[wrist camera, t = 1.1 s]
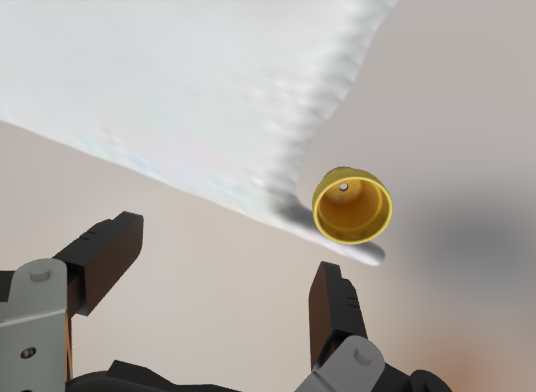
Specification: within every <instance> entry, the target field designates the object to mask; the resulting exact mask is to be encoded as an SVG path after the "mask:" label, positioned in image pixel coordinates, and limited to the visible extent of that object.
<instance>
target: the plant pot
mask: <svg viewBox="0 0 536 392" xmlns="http://www.w3.org/2000/svg"><path fill="white" fill-rule="evenodd" d="M342 183H346V184H347V188H346V189H340V188H339V186H340V185H341V184H342ZM312 210H313V217H314V221H315V224H316V226H317V228H318V229H319V230H320V232H321V233H322V234H323V235H324V236H326V237H327V238H329V239H330V240H332V241H335V242H338V243H342V244H359V243H363V242H366V241H369V240H371V239H373V238H374V237H376V236H378V235H379V234H380V233H381V232H382V231H383V230H384V229H385V228H386V226H387V225H388V223H389V221H390V219H391V216H392V211H393V204H392V199H391V196H390V194H389V192H388V191H387V189H386V188H385V187H384V185H383V184H382V183H381V182H380V181H379V180H378V179H377V178H376V177H374V176H373V175H371V174H370V173H368V172H366V171H363V170H359V169H353V168H350V167H338V168H335V169H333V170H331V171H329V173H327V174H326V175H325V177H324V179H323V180H322V181H321V182H320V184H319V185H318V187H317V188H316V190H315V192H314V195H313V201H312Z"/></svg>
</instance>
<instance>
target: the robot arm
mask: <svg viewBox="0 0 536 392" xmlns="http://www.w3.org/2000/svg"><path fill="white" fill-rule="evenodd" d="M143 222H144V220H143V216H142V215H138V214H134V213H130V212H126V211H124V212H122V213H121V214H119V215H118V216H117V217H116V218H115V219H113V220H111V219H107V220H105V221H102V222H99V223H97V224H95V225H94V226H93V227H91V228H90V229H89V230H87V232H85V233H83V234H82V235H81V236H80V237H79V238H77V239H76V240H74V241H73V242H72V243H70V244H69V245H68V246H67V247H65V248H64V249H63V250H61V251H60V252H59V253H57V254H56V255H55V256H54V257H52V258H49V259H48V258H46V259H38V260H35V261H31V262H29V263H26V264H25V265H23V266H21V267H20V268H18V269H17V270H16V271H0V392H241V391H236V390H233V389H229V388H225V387H221V386H217V385H213V384H207V385H206V384H203V385H176V384H173V383H171V382H170V381H168V380H166V379H165V378H163V377H161V376H160V375H158V374H156V373H154V372H153V371H151V370H150V369H148V368H145V367H142V366H138V365H133V364H130V363H126V362H122V361H118V360H114V362H113V364H112V365H111V367H110V368H109V370H108V371H98V372H92V373H88V374H85V375H82V376H79V377H76V378H74V379H73V369H72V323H71V318H72V317H73V316H74V315H75V313H76V314H80V315H84V316H88V315H89V314H90V313H91V312H92V310H93V309H94V308H95V307H96V306H97V304H98V303H99V302H100V301H101V300H102V299H103V297H104V296H105V295H106V294H107V293H108V292H109V290H110V289H111V288H112V287H113V286H114V285H115V283H116V282H117V281H118V280H119V279H120V277H121V276H122V275H123V274H124V272H126V270H127V269H128V268H129V267H130V266H131V265H132V263H133V262H134V261H135V260H136V259H137V257H138V255H139V254H140V251H141V248H142V241H143ZM309 325H310V326H309V327H310V353H311V372H312V373H311V374H310V375H309V376H308V377H307V378H306V379H305V380H304V381H303V382H302V384H301V385H300V386H299V387H298V388H297V389H296V390H295V392H452V391H451V389H450V388H449V387H448V386H447V384H446V383H445V382H444V381H442V380H441V379H440V378H439V377H437V376H436V375H434V374H433V373H431V372H428V371H426V370H416V371H414V372H413V373H412V374H411V375H410V376H408V375H406V374H405V373H403V372H401V371H399V370H397V369H396V368H394V367H392V366H390V365H389V364H387V363H385V362H384V358H383V355H382V354H381V352H380V350H379V349H378V348H377V347H376V346H375V345H374V344H373V343H372V342H371V341H369V340H368V337H367V334H366V329H365V325H364V321H363V317H362V313H361V310H360V306H359V302H358V297H357V294H356V289H355V288H354V287H353V285H352V284H351V282H350V281H349V280H348V279H344V278H342V276H341V271H340V266H339V265H336V264H332V263H328V262H324V261H322V262H321V263H320V265H319V268H318V270H317V273H316V276H315V278H314V281H313V283H312V286H311V289H310V293H309Z"/></svg>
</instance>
